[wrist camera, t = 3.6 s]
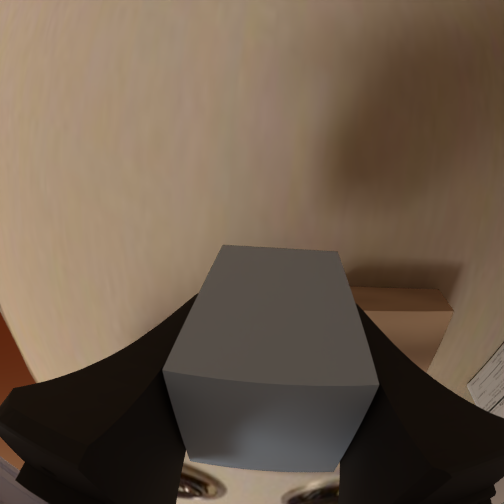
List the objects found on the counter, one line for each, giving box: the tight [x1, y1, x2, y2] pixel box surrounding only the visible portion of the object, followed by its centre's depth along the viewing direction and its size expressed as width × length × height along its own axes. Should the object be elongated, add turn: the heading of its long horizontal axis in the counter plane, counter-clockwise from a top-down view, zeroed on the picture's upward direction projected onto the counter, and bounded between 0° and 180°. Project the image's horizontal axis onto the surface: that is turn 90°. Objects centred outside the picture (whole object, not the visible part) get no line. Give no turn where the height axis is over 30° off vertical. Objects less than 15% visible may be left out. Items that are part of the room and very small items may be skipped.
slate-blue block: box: [162, 245, 379, 472], centre depth 8 cm, size 4×4×6 cm
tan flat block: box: [350, 286, 454, 372], centre depth 18 cm, size 8×8×3 cm
